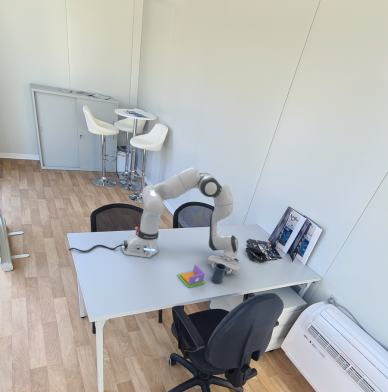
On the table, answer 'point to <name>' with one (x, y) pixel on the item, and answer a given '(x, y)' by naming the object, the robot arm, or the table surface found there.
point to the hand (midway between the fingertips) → (220, 270)
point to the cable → (254, 255)
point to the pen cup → (218, 273)
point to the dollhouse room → (193, 277)
